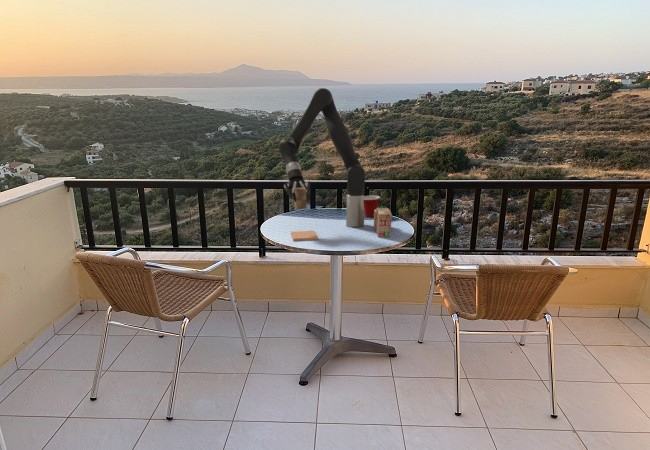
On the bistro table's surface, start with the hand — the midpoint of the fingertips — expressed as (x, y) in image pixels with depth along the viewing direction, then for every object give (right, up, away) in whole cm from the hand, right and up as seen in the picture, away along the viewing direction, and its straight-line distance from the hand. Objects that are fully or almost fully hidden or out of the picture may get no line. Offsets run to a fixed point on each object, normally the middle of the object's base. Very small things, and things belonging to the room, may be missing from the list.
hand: (301, 200), depth 197 cm
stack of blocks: (+41, -16, +12) cm, 46 cm away
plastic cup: (+39, -7, +42) cm, 58 cm away
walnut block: (-1, -4, +3) cm, 5 cm away
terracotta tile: (+1, -18, +2) cm, 18 cm away
